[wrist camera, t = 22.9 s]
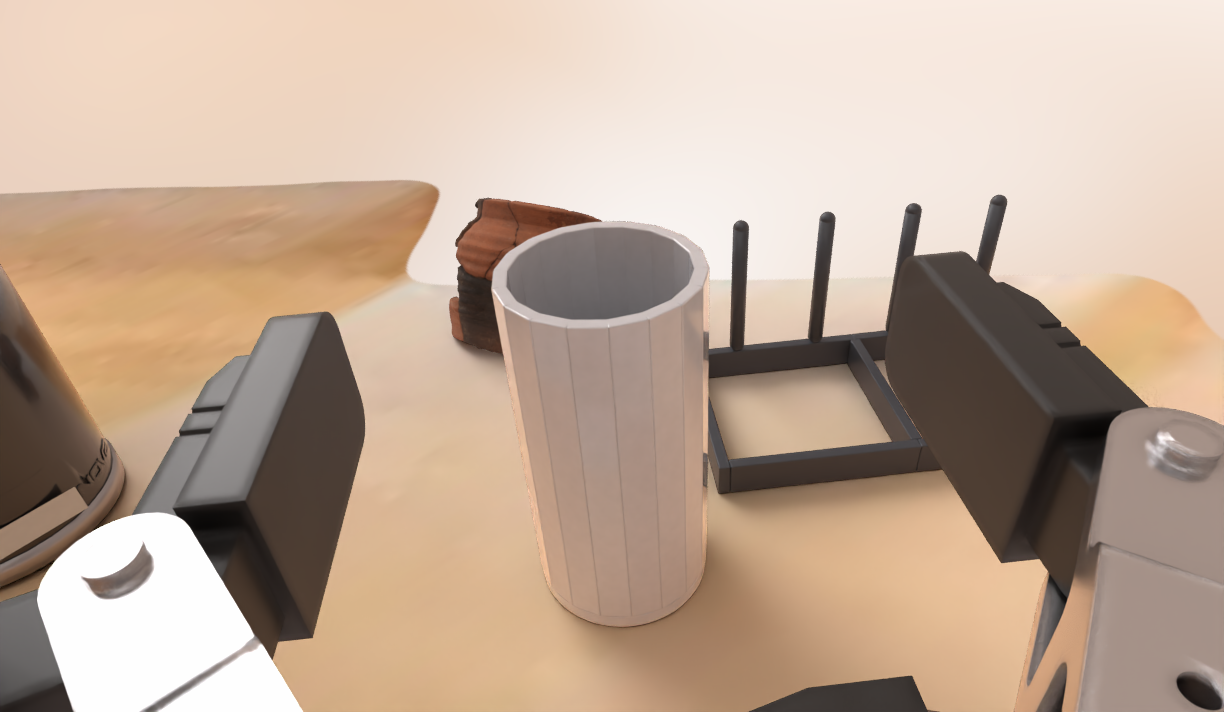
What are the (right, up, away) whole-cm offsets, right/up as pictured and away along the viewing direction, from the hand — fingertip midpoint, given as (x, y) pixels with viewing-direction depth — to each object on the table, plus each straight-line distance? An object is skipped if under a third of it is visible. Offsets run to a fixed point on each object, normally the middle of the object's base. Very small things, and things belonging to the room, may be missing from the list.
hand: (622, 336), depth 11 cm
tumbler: (0, -8, +19) cm, 21 cm away
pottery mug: (-4, +2, +34) cm, 34 cm away
